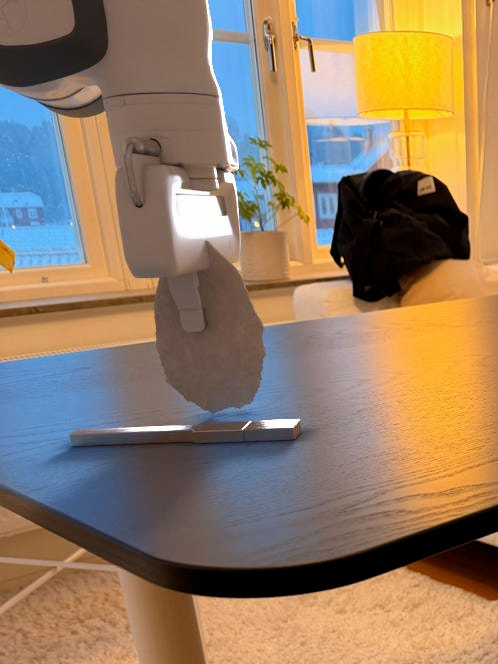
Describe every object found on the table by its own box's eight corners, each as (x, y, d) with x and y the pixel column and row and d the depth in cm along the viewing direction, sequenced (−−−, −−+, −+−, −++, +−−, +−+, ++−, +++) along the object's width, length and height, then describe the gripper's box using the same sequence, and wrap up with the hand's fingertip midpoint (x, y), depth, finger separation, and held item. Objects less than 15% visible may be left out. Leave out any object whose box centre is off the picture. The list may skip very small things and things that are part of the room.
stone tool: (274, 406, 81) (249, 226, 74) (276, 412, 78) (251, 225, 72) (169, 415, 79) (135, 230, 72) (167, 422, 76) (131, 230, 70)
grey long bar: (68, 448, 70) (64, 436, 69) (83, 439, 72) (80, 427, 72) (294, 440, 69) (293, 427, 69) (302, 431, 72) (300, 418, 71)
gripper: (168, 131, 60) (204, 344, 66) (241, 149, 78) (264, 313, 84) (76, 136, 60) (120, 347, 66) (171, 152, 78) (199, 316, 85)
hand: (201, 328), depth 76 cm, fingers closed on stone tool, 2 cm apart
